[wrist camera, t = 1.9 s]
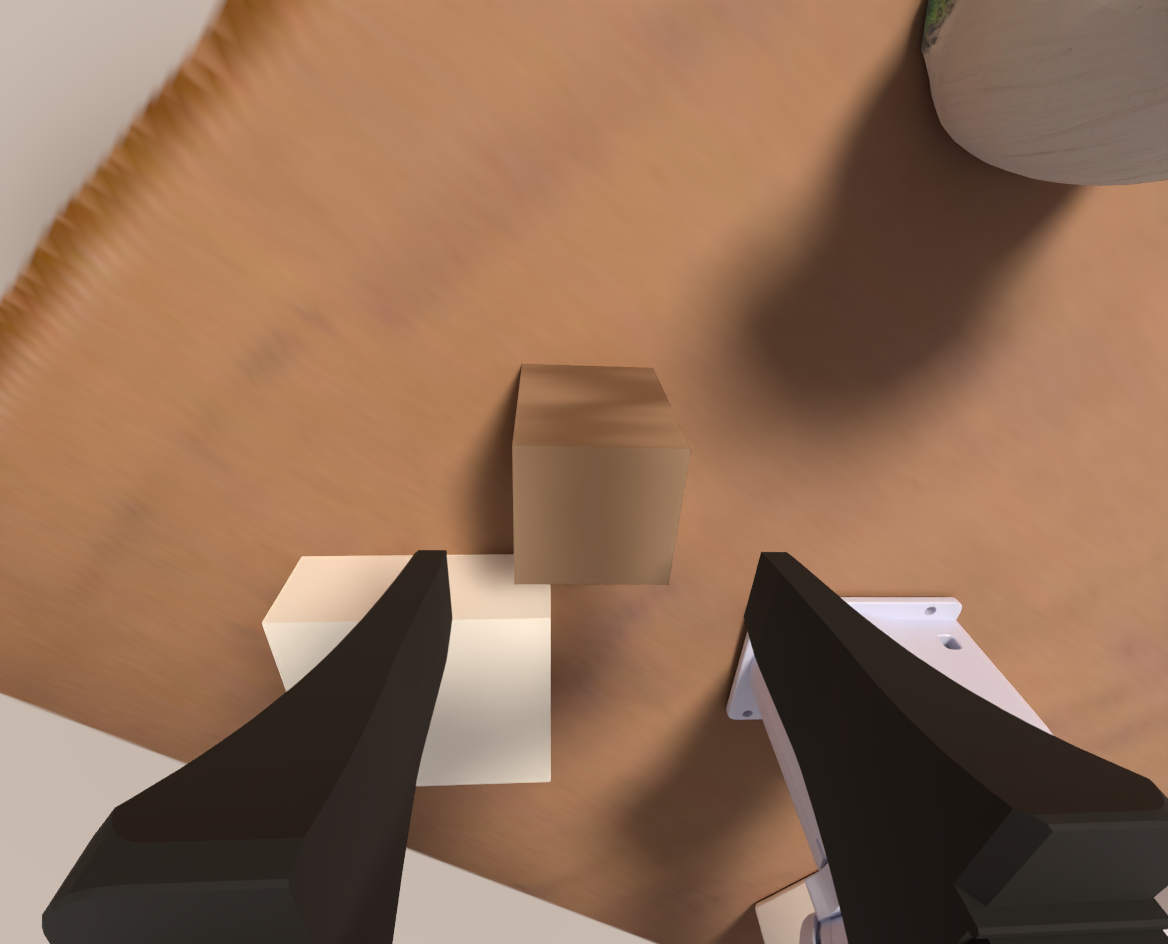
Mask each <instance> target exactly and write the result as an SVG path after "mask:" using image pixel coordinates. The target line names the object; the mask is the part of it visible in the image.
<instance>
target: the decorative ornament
mask: <svg viewBox="0 0 1168 944" xmlns="http://www.w3.org/2000/svg"><path fill="white" fill-rule="evenodd" d="M921 51H922V54H923V56H924V59H925V63H926V67H927V72H928V76H929V82H930V88H931V95H932V99H933V102H934V106H935V109H936V112H937V114H938V117H939V120H940V123H941V125H942V126H943V127H944V129H945V130H946V131H947V133H948V134H949V135H950V137H951V138H952V139H953V140H954V141H955V142H956V143H957V144H959V145H960V146H961V147H962V148H964V149H965V150H966V151H968V152H969V153H970V154H972V155H974V156H975V157H977V158H979V159H980V160H982V161H984V162H986V163H987V164H990V165H993V166H995V167H998V168H1001V169H1003V170H1006V171H1009V172H1012V173H1015V174H1019V175H1022V176H1025V177H1029V178H1033V179H1037V180H1043V181H1049V182H1056V183H1064V184H1076V185H1097V186H1102V185H1129V184H1140V183H1147V182H1155V181H1163V180H1168V0H928V6H927V12H926V18H925V25H924V33H923V39H922V46H921Z"/></svg>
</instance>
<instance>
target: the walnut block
mask: <svg viewBox="0 0 1168 944" xmlns="http://www.w3.org/2000/svg"><path fill="white" fill-rule="evenodd" d="M690 453H691V448H690V445H689V443H688V441H687V439H686V437H685V435H684V433H683V431H682V429H681V426H680V424H679V422H678V420H677V418H676V416H675V414H674V412H673V409H672V407H671V405H670V403H669V401H668V399H667V397H666V395H665V393H664V390H663V388H662V386H661V384H660V382H659V380H658V378H657V376H656V373H655V371H654V369H653V368H634V367H601V366H569V365H537V364H522V368H521V376H520V384H519V393H518V401H517V410H516V418H515V427H514V435H513V443H512V462H513V530H514V584H638V585H669V579H670V573H671V567H672V561H673V555H674V549H675V543H676V537H677V531H678V525H679V519H680V513H681V507H682V501H683V495H684V489H685V483H686V477H687V471H688V465H689V459H690Z"/></svg>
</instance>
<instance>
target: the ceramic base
mask: <svg viewBox="0 0 1168 944" xmlns="http://www.w3.org/2000/svg"><path fill="white" fill-rule="evenodd" d="M412 556H413V555H395V556H302V557H301V559H300V560H299V562H298V564H297V565H296V567H295V569H294V570H293V572H292V574H291V575H290V577H289V579H288V580H287V582H286V584H285V585H284V587H283V589H282V590H281V592H280V593H279V595H278V597H277V598H276V600H275V602H274V603H273V605H272V607H271V608H270V610H269V612H268V613H267V615H266V617H265V618H264V620H263V622H262V625H263V628H264V631H265V634H266V636H267V639H268V642H269V645H270V648H271V650H272V653H273V656H274V659H275V662H276V664H277V667H278V670H279V673H280V676H281V678H282V681H283V684H284V687H285V690H286V692H287V691H288V690H289V689H290V688H292V687H293V686H294V685H295V684H296V683H297V682H299V681H300V680H301V679H302V678H303V677H304V676H305V675H306V674H308V673H309V672H310V671H311V670H312V669H313V668H314V667H315V666H316V665H317V664H318V663H320V662H321V661H322V660H323V659H324V658H325V657H326V656H327V655H328V654H329V653H330V652H331V651H332V650H333V649H334V648H335V647H336V646H337V645H338V644H339V643H340V642H341V641H342V640H343V639H344V637H345V636H346V635H347V634H348V633H349V632H350V631H351V630H352V629H353V628H354V627H355V626H356V625H357V624H358V623H359V622H360V621H361V619H362V618H363V617H364V616H365V615H366V614H367V613H368V611H369V610H370V609H371V608H372V607H373V606H374V604H375V603H376V602H377V601H378V600H379V599H380V597H381V596H382V595H383V594H384V593H385V591H386V590H387V589H388V588H389V586H390V585H391V584H392V583H393V581H394V580H395V579H396V578H397V576H398V575H399V574H400V572H401V571H402V570H403V568H404V567H405V566H406V564H407V563H408V562H409V560H410V559H411V558H412ZM447 563H448V574H449V585H450V596H451V607H452V626H451V634H450V641H449V648H448V655H447V661H446V665H445V669H444V673H443V677H442V681H441V685H440V689H439V692H438V696H437V700H436V704H435V708H434V712H433V715H432V719H431V723H430V727H429V731H428V734H427V738H426V742H425V746H424V750H423V754H422V758H421V762H420V767H419V772H418V776H417V782H416V786H442V785H470V784H499V783H528V782H551V587H550V584H514V554H487V555H447Z"/></svg>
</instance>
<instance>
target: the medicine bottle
mask: <svg viewBox="0 0 1168 944" xmlns="http://www.w3.org/2000/svg"><path fill="white" fill-rule="evenodd" d="M816 873H817V872H816ZM814 874H815V873H814ZM814 874H812V875H814ZM812 875H810V876H812ZM810 876H809V877H810ZM807 878H808V877H807ZM805 879H806V878H805ZM805 879H803V880H801V881H799V882H797V883H795V884H793V885H791V886H789V887H787V888H785V889H783V890H781V891H779V892H778V893H776V894H774V895H772V896H770V897H768V898H766V899H764V900H762V901H760V902H758V903H757V904H756V906H755V910H756V914H757V918H758V922H759V925H760V929H761V933H762V936H763V940H764V944H799V940H800V930H801V926H802V923H803V920H804V919H805V918H806V917H807V916H808V915H809V914H811V913H814V912H815V910H814V907H813V904H812V901H811V898H810V895H809V893H808V890H807V887H806V884H805Z"/></svg>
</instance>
